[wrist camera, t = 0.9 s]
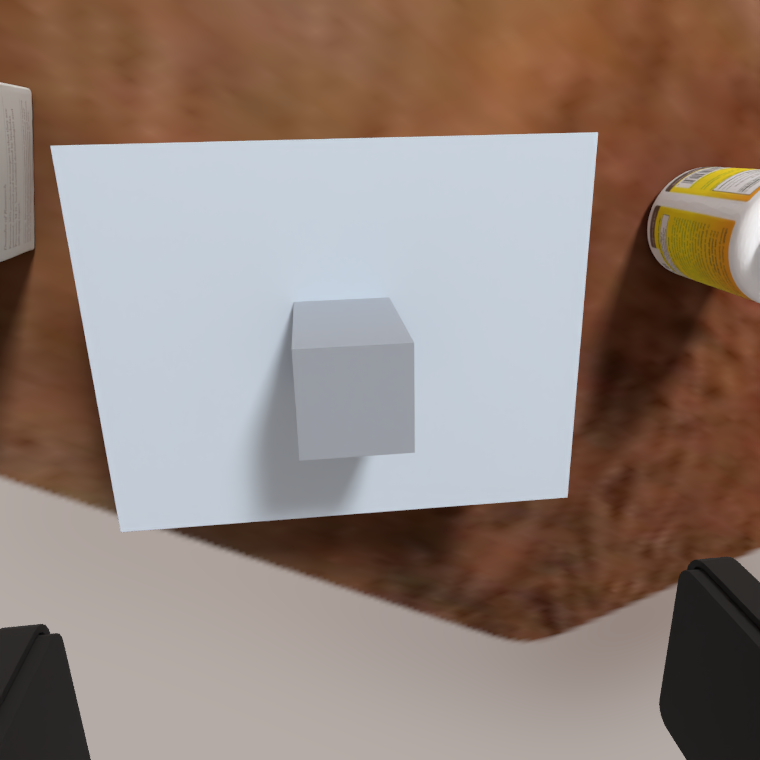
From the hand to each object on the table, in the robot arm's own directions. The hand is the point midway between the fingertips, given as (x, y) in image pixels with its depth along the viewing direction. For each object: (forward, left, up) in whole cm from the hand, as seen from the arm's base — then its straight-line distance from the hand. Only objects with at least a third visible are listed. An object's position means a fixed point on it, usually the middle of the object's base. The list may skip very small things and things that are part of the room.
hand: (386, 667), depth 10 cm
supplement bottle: (-19, -3, -26) cm, 33 cm away
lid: (0, 0, -18) cm, 18 cm away
